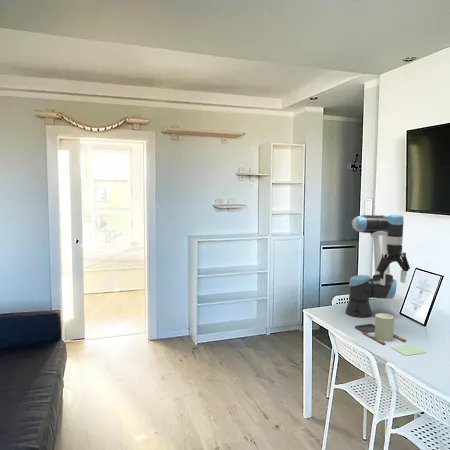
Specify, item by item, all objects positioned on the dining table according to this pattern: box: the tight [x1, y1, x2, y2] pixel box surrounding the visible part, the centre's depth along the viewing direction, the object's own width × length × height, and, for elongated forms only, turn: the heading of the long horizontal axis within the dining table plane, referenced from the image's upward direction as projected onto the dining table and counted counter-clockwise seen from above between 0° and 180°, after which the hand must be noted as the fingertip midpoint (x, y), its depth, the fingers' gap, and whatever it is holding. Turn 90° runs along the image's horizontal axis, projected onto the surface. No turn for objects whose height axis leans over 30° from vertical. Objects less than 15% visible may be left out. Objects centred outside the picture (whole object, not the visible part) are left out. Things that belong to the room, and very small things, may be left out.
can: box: [373, 312, 395, 342], centre depth 204 cm, size 9×9×12 cm
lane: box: [361, 332, 407, 346], centre depth 205 cm, size 16×14×1 cm
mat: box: [390, 344, 428, 357], centre depth 189 cm, size 10×12×1 cm
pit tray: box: [354, 323, 375, 334], centre depth 217 cm, size 8×11×1 cm
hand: (392, 283), depth 211 cm, fingers open, 13 cm apart
